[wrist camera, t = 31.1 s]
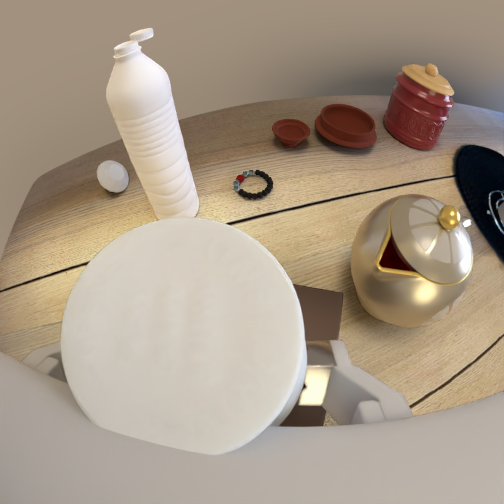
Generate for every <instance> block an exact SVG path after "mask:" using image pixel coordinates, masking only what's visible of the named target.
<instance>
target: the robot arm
mask: <svg viewBox="0 0 504 504" xmlns="http://www.w3.org/2000/svg"><path fill="white" fill-rule="evenodd" d="M305 342H306V350H307V369H306V376H305V380H304V384H303V388H302V391H301V393H300V396H299V398H298V405H311V406H322V407H323V408H324V409H325V410H326V411H327V412H328V413H329V414H330V416H331V417H332V418H333V419H334V420H335V421H336V422H337V423H338V424H339V425H340V426H320V427H281V426H268V427H267V428H266V429H265V430H264V431H263V432H261V433H260V434H259V435H258V436H257V437H255V438H254V439H253V440H251V441H250V442H248V443H247V444H245V445H243V446H242V447H240V448H238V449H236V450H234V451H231V452H228V453H225V454H219V455H208V454H202V453H196V452H191V451H186V450H181V449H176V448H172V447H168V446H164V445H159V444H155V443H152V442H148V441H144V440H140V439H137V438H133V437H130V436H126V435H123V434H120V433H116V432H113V431H110V430H107V429H104V428H101V427H99V426H97V425H95V424H93V423H92V422H91V421H90V420H89V418H88V417H87V416H86V415H85V414H84V412H83V411H82V409H81V408H80V406H79V405H78V403H77V401H76V400H75V398H74V396H73V394H72V391H71V389H70V387H69V385H68V382H67V379H66V375H65V371H64V367H63V362H62V356H61V341H60V342H57V343H54V344H50V345H47V346H44V347H40V348H37V349H34V350H33V351H32V352H30V353H29V354H28V355H27V356H26V357H25V358H23V359H22V360H21V361H20V362H19V361H18V360H16V359H14V358H12V357H10V356H8V355H6V354H5V353H3V352H1V351H0V504H504V391H501V392H499V393H496V394H493V395H490V396H488V397H485V398H482V399H479V400H476V401H473V402H469V403H466V404H463V405H459V406H456V407H452V408H448V409H444V410H440V411H436V412H432V413H427V414H423V415H418V416H413V414H412V411H411V409H410V407H409V405H408V403H407V401H406V399H405V397H404V395H402V394H400V393H399V392H397V391H395V390H394V389H392V388H391V387H389V386H387V385H386V384H384V383H383V382H381V381H380V380H378V379H376V378H375V377H373V376H372V375H370V374H369V373H367V372H366V371H364V370H362V369H361V368H359V367H358V366H353V365H352V363H351V360H350V357H349V355H348V352H347V349H346V347H345V344H344V341H343V340H321V341H305Z"/></svg>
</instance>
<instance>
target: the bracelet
mask: <svg viewBox="0 0 504 504" xmlns="http://www.w3.org/2000/svg"><path fill="white" fill-rule="evenodd" d="M253 174H256V175H259V176H260V177H263V178H264V179H266V181H267V184H268V185H267V187H266V188H265V190H262V192H258V193H257V194H256V193H254V194H252V193H247V192H246V191H244V190H243V189H240V188H239V183H240V182H242V181H243V180H244V177H247V176H248V175H253ZM233 185H234V190H235V191H237V192H238V194H239V195H242V196H243V197H247V198H249V199H251V198H253V199H257V198H262V197H263V196H266V195H267V194H268V193H270V191H271V189H272V188H273V181H272V179H271V177H269V175H268V174H265V172H263V171H261V172H260V170H256V171H253V170H249V172H248V173H247V171H245V172H243V174H242V175H238V176H237V178H236V181H234V183H233ZM239 189H240V190H239Z"/></svg>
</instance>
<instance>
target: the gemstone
mask: <svg viewBox="0 0 504 504" xmlns="http://www.w3.org/2000/svg"><path fill="white" fill-rule="evenodd" d="M97 178H98V180H99V183H100V184H101V185H102V186H103V187H104V188H105V189H107V190H109V191H110V192H116V193H117V192H120V191H123V190H124V189H125V188H126V187H127V186H128V182H129V177H128V173H127V171H126V169H125V168H124V167H123V166H122V165H121V164H119V163H118V162H115V161H105V162H103V163H101V164H100V165H99V167H98V169H97Z"/></svg>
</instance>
